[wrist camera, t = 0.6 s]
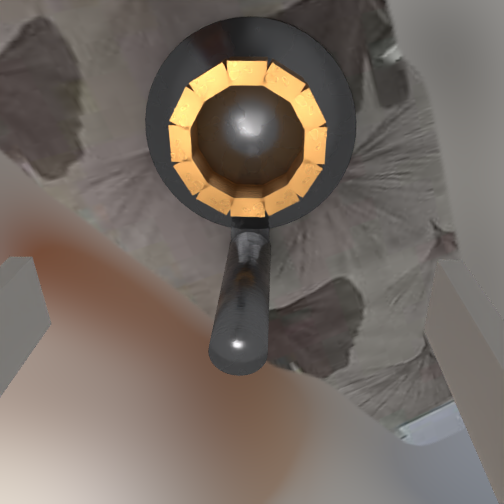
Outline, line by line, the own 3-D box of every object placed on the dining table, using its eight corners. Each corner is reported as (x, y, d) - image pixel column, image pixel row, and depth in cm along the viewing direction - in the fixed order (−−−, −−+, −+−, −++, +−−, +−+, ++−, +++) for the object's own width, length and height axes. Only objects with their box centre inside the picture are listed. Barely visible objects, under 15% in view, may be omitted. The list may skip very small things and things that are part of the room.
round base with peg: (135, 16, 33) (48, 23, 20) (366, 16, 32) (421, 23, 19) (161, 263, 42) (112, 370, 29) (340, 267, 41) (367, 380, 29)
